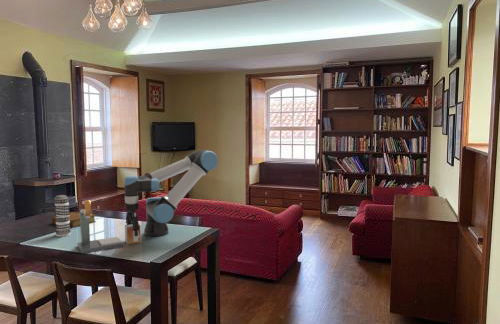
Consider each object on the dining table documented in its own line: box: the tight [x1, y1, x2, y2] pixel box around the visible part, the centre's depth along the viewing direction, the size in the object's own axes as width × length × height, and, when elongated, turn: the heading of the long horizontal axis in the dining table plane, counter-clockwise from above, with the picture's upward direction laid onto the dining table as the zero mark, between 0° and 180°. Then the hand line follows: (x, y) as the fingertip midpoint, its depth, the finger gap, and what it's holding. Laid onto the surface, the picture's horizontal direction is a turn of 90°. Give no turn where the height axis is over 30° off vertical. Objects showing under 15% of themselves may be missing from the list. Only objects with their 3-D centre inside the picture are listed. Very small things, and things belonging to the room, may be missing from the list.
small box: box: [124, 224, 142, 245], centre depth 230 cm, size 8×6×10 cm
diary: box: [51, 211, 97, 229], centre depth 278 cm, size 23×19×6 cm
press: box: [76, 213, 124, 254], centre depth 222 cm, size 22×15×19 cm
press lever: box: [79, 199, 92, 218], centre depth 215 cm, size 18×4×10 cm, turn 31°
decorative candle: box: [53, 194, 71, 237], centre depth 247 cm, size 9×9×25 cm
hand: (132, 238), depth 230 cm, fingers open, 13 cm apart
